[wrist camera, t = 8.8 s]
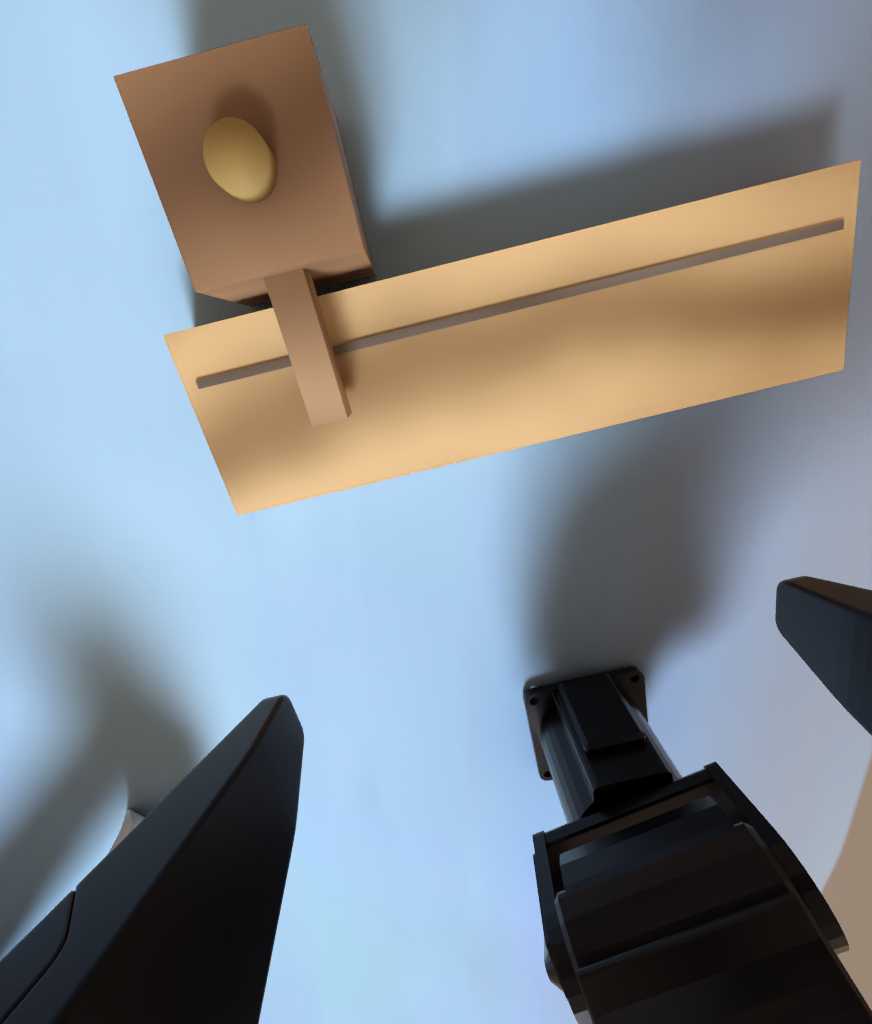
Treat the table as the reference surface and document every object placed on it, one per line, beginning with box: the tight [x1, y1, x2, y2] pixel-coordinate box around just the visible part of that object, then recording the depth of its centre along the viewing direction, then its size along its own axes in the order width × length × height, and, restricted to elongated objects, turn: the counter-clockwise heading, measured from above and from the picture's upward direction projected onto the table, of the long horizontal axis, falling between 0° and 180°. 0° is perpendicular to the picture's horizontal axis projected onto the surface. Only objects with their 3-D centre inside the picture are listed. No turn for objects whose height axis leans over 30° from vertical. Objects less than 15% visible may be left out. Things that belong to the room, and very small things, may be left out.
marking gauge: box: [113, 24, 376, 427], centre depth 15 cm, size 10×5×6 cm, turn 13°
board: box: [163, 159, 861, 515], centre depth 18 cm, size 7×24×3 cm, turn 103°
